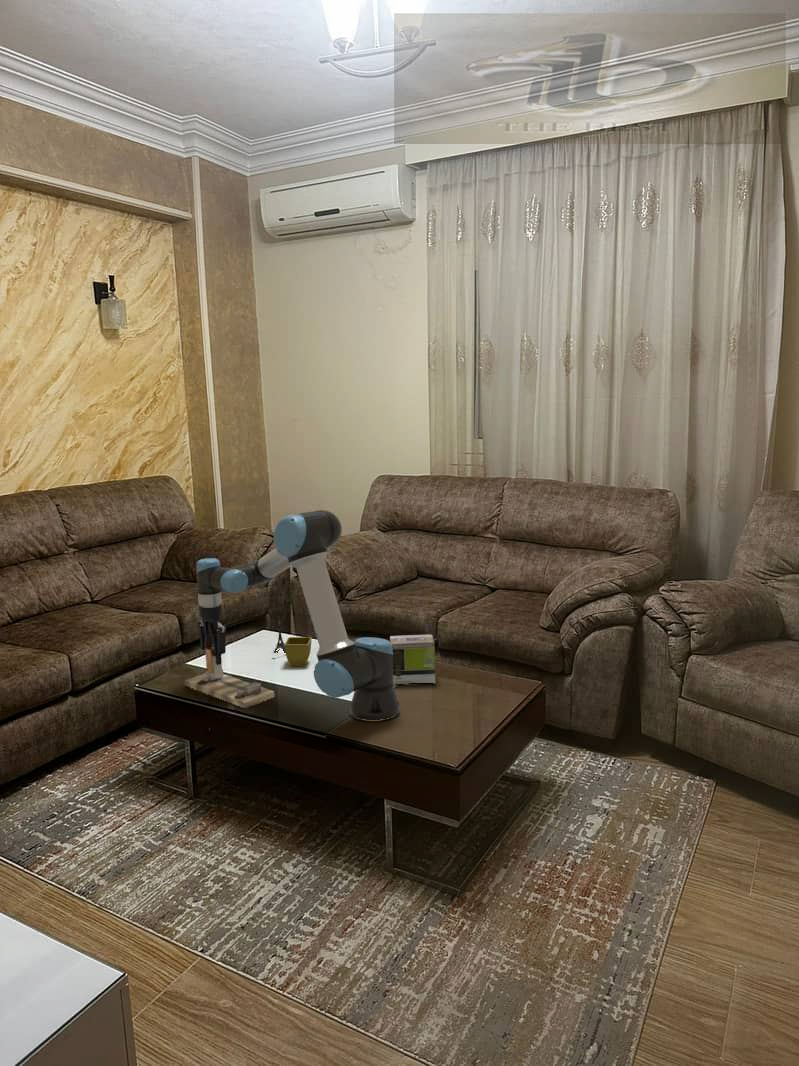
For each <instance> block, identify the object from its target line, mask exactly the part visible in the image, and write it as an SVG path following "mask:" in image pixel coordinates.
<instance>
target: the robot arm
mask: <svg viewBox="0 0 799 1066" xmlns="http://www.w3.org/2000/svg"><path fill="white" fill-rule="evenodd" d="M342 531H343V528H342V523H341V521H340V519H339V518H338V516H336V515H335V514H334V513H333V512H331V511H328V510H322V509H320V510H315V511H314V510H313V511H308V512H307V511H306V512H299V513H293V514H290V515H286V516H284V517H282V518H281V519H280V520H279V521H278V522H277V524H276V525H275V528H274V532H273V543H274V547H275V549H273V550H272V551H269V552H268V553H267V554H264V555H263V556H262V557H261V558H259V559H257V560H255V561H253V562H251V563H247V564H243V565H238V566H233V567H222V566H221V563H220V560H219V559H218V558H213V557H212V558H210V557H209V558H208V557H207V558H202V559H199V560H198V561H197V562H196V572H195V573H196V580H197V581H196V582H197V583H196V584H197V591H198V592H197V595H198V596H197V597H198V599H197V600H198V605H199V606H198V611H199V614H198V615H199V617H200V618H201V620H198V621H196V624H197V627H198V634H199V635H198V636H199V642H200V644H199V645H200V649H201V651H203V652H204V653H205V654H206V650H205V649H206V648H209V647H213V649H214V654H213V669H214V674H218V673H222V669H223V667H222V668H221V664H222V663H223V662H222V661H223V660H222V655H223V654H226V651H227V650H226V649H227V647H226V646H227V645H226V638H227V637H226V633H227V626H226V625H222V621H221V617H222V616H223V605H222V601H223V600H222V599H223V598H222V592H226V593H230V594H239V593H242V592H243V591H244V590H245V589H247V588H249V587H254V586H258V585H262V584H267V583H270V582H272V581H274V580H275V579H276V576H277V575H279V574H280V573H282V572H284V571H286V570H287V569H290V567H293V568H294V569H296V572H297V575H298V579H299V583H300V585H301V590H302V592H303V597H304V599H305V602H306V606H307V609H308V614H309V616H310V619H311V623H312V625H313V629H314V632H315V633H314V634H315V636H316V640H317V643H318V645H319V649H318V650H317V653H316V658H317V661H318V662H316V664H315V665H314V670H313V679H314V681H315V683H316V685H317V687H318V688H319V690H320V691H321V692H322V693H324V694H325V695H326V696H328V697H331V698H336V699H337V698H341V697H344V696H348V695H350V694H351V693H353V695H352V699H351V702H350V705H349V706H350V707H349V713H350V716H351V717H352V718H354V717H356V718H359V719H366V720H380V719H387V718H391V717H393V716H395V715H397V714H398V713H399V714H400V712H401V711H400V710H401V709H400V706H401V705H400V703H399V700H398V699H397V698H398V697H397V695H396V690H395V687H394V685H393V648H392V644H391V642H390V640H388V639H384V638H380V637H370V636H367V637H366V636H365V637H358V638H356V639H355V640H354V641H353V640H351V639H349V637H348V634H347V631H346V627H345V624H344V620H343V617H342V614H341V610H340V607H339V604H338V603H339V602H338V601H337V600H338V599H337V598H336V594H335V591H334V587H333V584H332V581H331V577H330V574H329V570H328V567H327V564H326V561H325V559H326V557H327V556H328V553H329V552H328V549H329V548H331V547H333V546H335V544H337V543H338V542H339V540H340V538H341V536H342V534H343V533H342ZM399 711H400V712H399ZM399 714H398V715H399ZM398 715H397V716H398Z"/></svg>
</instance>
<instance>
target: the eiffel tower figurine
mask: <svg viewBox="0 0 799 1066" xmlns="http://www.w3.org/2000/svg"><path fill="white" fill-rule="evenodd" d="M285 643H286V642H284V640H283V637H282V629H281V620H279V622H278V638H277V643H276V645H275V646H276V647H275V649H274V650H275V651H274V650H273V652H274V653H276V652H277V653H278V651H279V650H280V649H283V651H284V653H286V651H285ZM277 649H279V650H278V651H276V650H277Z"/></svg>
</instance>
